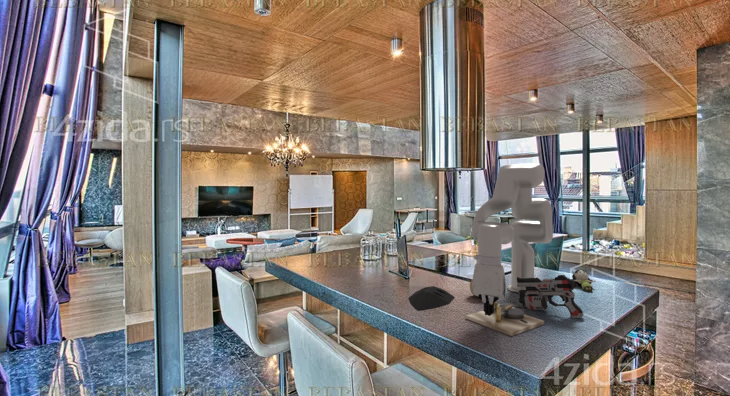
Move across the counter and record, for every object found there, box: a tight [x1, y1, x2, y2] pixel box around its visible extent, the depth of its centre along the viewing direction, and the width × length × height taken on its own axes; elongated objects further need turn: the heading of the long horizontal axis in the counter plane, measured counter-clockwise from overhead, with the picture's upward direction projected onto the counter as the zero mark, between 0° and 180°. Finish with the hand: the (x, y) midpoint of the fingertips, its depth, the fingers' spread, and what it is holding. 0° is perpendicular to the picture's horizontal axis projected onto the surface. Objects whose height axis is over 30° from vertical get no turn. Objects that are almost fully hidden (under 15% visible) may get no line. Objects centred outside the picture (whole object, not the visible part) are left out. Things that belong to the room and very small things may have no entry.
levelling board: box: [465, 301, 545, 337], centre depth 123 cm, size 18×18×4 cm
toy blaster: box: [517, 274, 585, 319], centre depth 132 cm, size 4×21×15 cm, turn 51°
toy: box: [571, 269, 597, 292], centre depth 165 cm, size 10×7×15 cm
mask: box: [408, 285, 456, 312], centre depth 147 cm, size 17×5×30 cm
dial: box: [495, 302, 525, 323], centre depth 123 cm, size 14×8×5 cm, turn 132°
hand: (488, 314), depth 121 cm, fingers closed
